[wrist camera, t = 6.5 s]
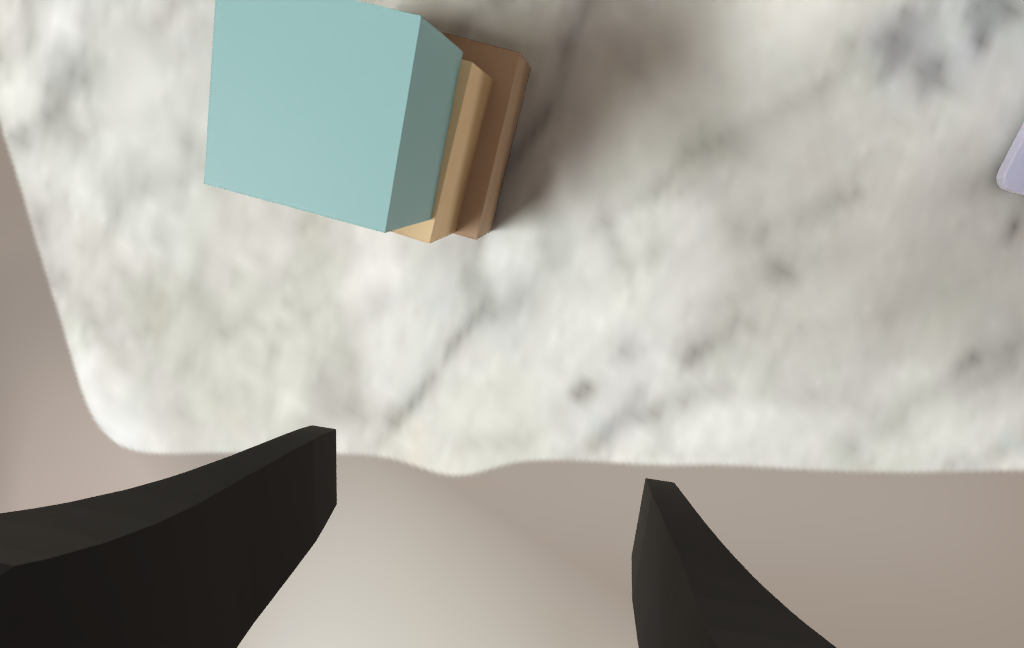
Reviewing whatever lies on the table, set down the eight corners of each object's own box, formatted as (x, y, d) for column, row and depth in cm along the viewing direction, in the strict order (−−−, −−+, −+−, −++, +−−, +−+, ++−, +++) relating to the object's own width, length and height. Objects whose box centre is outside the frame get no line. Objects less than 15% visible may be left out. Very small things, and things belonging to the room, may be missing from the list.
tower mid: (493, 79, 17) (472, 62, 14) (455, 232, 19) (429, 243, 16) (346, 36, 18) (297, 11, 15) (321, 189, 19) (272, 193, 16)
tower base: (531, 69, 20) (519, 52, 17) (492, 230, 22) (475, 239, 19) (376, 29, 20) (339, 6, 17) (351, 190, 22) (313, 193, 19)
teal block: (463, 51, 14) (420, 15, 11) (430, 219, 16) (384, 232, 12) (304, 13, 15) (217, -33, 11) (286, 181, 16) (203, 183, 13)
